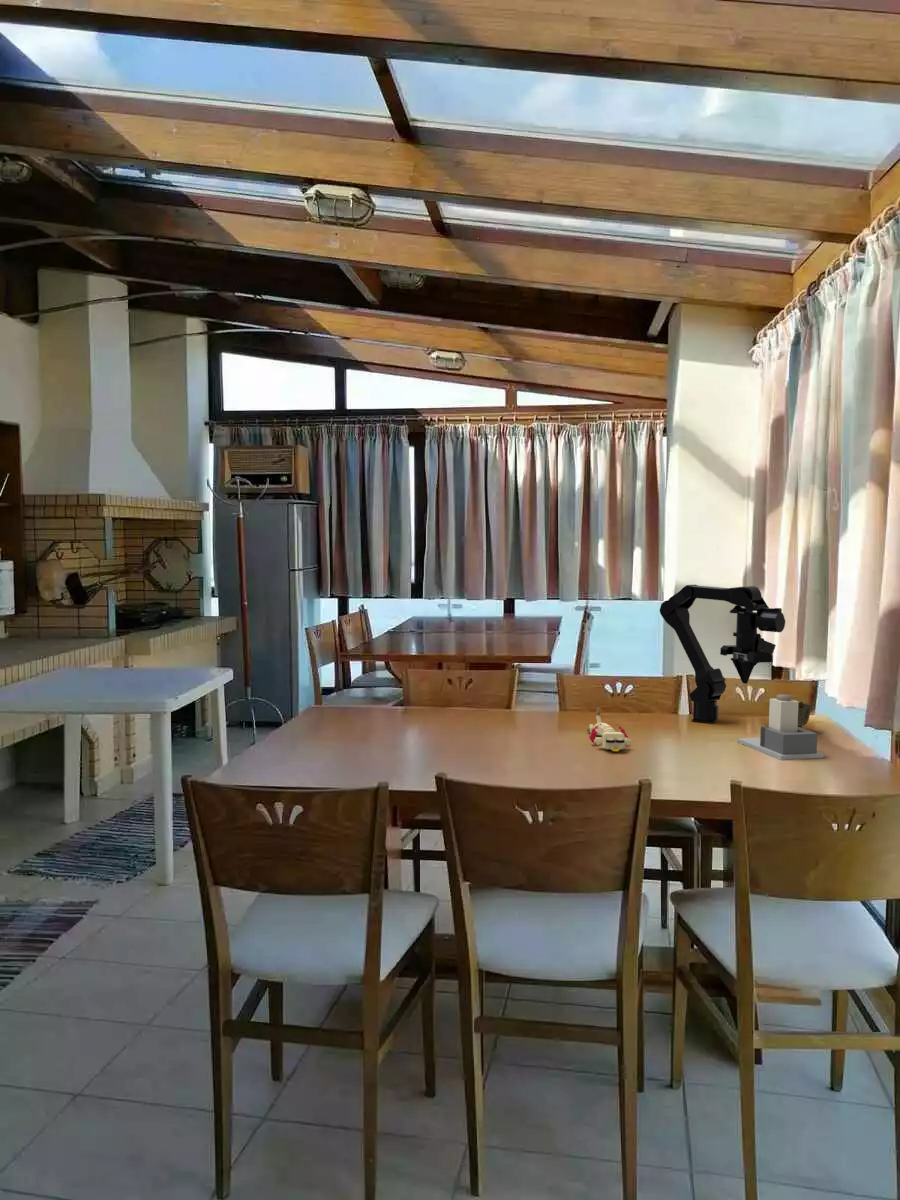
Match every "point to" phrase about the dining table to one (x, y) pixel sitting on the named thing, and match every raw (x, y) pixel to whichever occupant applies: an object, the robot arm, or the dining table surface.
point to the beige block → (783, 714)
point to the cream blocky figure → (607, 735)
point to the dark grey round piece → (803, 714)
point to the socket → (785, 744)
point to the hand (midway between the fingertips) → (744, 683)
